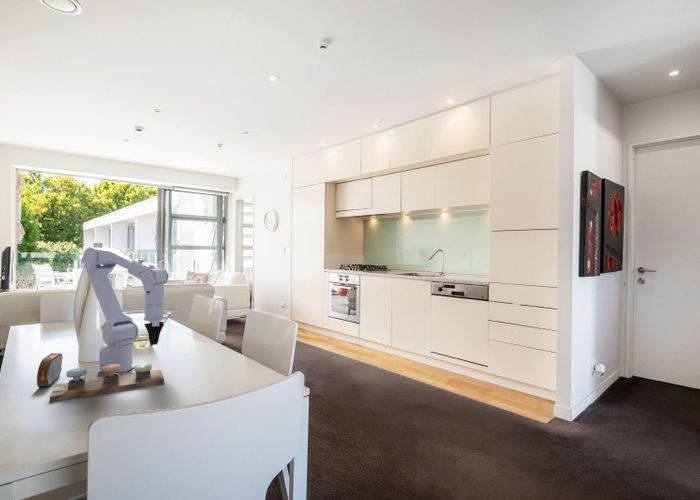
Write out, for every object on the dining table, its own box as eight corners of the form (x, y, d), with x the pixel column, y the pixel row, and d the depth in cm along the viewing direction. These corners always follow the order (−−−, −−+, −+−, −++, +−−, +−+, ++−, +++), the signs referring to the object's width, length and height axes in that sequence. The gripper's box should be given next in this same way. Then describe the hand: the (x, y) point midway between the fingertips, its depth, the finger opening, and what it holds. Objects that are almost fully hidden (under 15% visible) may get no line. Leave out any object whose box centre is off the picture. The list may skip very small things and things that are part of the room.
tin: (52, 375, 124) (52, 350, 124) (63, 374, 125) (64, 349, 125) (35, 391, 110) (35, 362, 110) (48, 389, 111) (48, 361, 111)
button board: (49, 402, 102) (49, 389, 102) (55, 389, 111) (55, 378, 111) (164, 383, 116) (164, 373, 116) (160, 374, 126) (160, 364, 126)
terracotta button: (101, 379, 110) (101, 369, 110) (102, 375, 114) (102, 365, 115) (120, 377, 113) (120, 367, 113) (120, 372, 117) (120, 363, 117)
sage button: (134, 379, 115) (134, 369, 115) (134, 374, 119) (134, 365, 119) (152, 376, 117) (152, 366, 117) (151, 372, 121) (151, 363, 122)
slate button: (65, 384, 106) (65, 374, 106) (67, 380, 110) (67, 369, 110) (86, 381, 108) (86, 371, 108) (87, 377, 113) (87, 367, 113)
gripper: (169, 305, 122) (169, 347, 122) (165, 300, 135) (164, 338, 135) (145, 307, 119) (144, 350, 119) (143, 302, 131) (142, 341, 131)
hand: (153, 344), depth 126 cm, fingers closed
